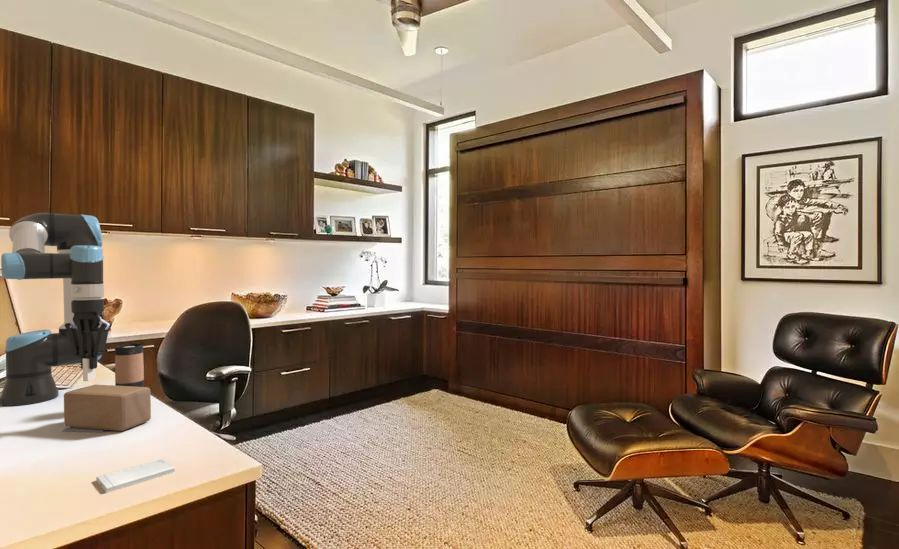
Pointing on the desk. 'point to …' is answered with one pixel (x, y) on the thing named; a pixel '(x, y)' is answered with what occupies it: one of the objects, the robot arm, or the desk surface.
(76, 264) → the robot arm
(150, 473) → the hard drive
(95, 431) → the mat
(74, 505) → the desk surface
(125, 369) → the travel mug
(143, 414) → the block
